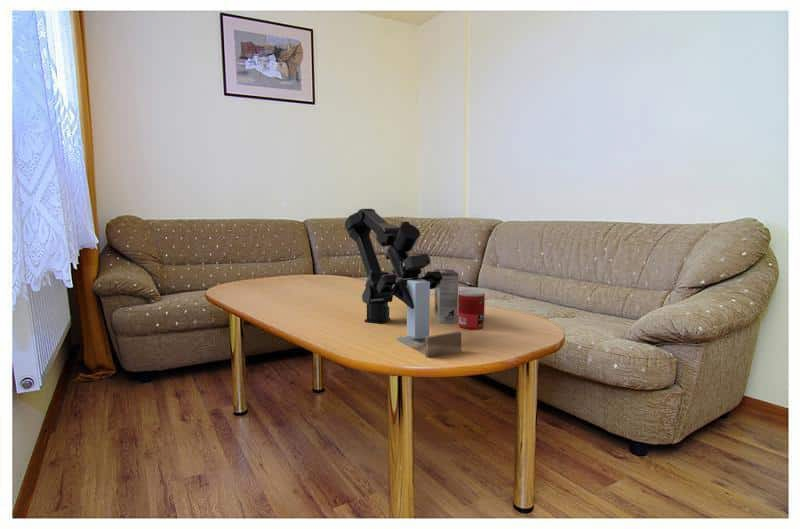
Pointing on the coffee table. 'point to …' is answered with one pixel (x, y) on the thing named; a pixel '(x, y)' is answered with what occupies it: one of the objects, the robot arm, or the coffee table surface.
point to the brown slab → (440, 344)
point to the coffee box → (447, 297)
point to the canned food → (471, 309)
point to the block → (418, 308)
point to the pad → (411, 340)
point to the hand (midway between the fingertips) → (420, 307)
